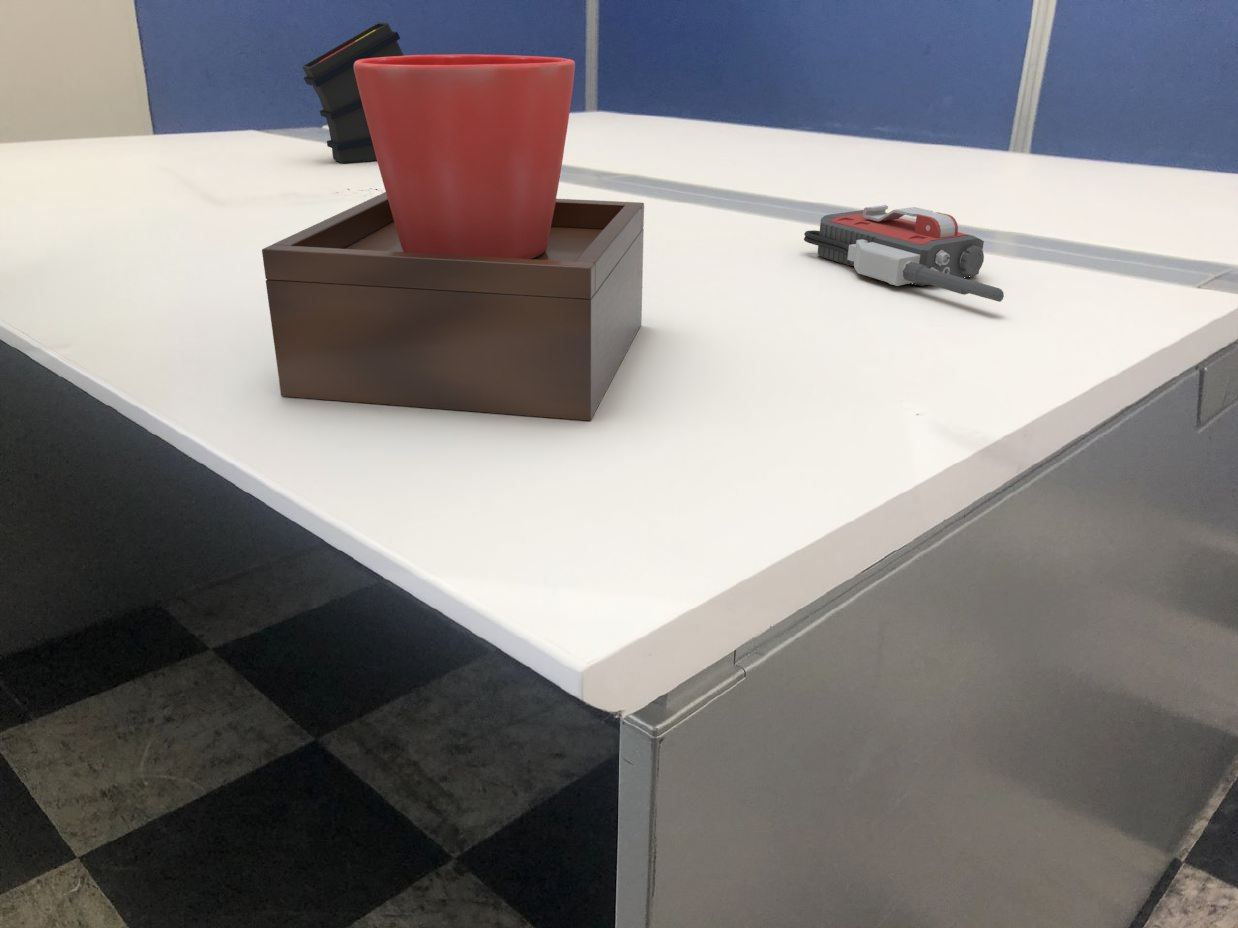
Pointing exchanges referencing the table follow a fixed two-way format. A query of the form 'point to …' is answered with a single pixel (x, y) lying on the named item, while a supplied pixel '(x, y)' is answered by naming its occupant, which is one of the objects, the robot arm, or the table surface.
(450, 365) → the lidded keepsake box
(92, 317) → the table surface
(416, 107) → the flower pot
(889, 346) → the table surface
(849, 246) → the walkie-talkie
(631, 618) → the table surface
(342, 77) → the magazine
